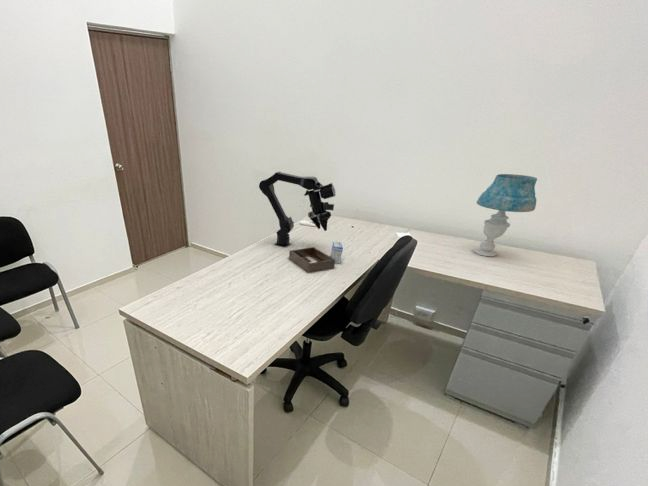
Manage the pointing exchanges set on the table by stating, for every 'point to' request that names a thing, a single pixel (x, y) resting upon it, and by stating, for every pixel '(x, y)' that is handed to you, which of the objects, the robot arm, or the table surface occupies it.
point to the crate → (316, 254)
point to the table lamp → (505, 205)
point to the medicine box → (336, 251)
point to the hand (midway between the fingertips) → (322, 229)
